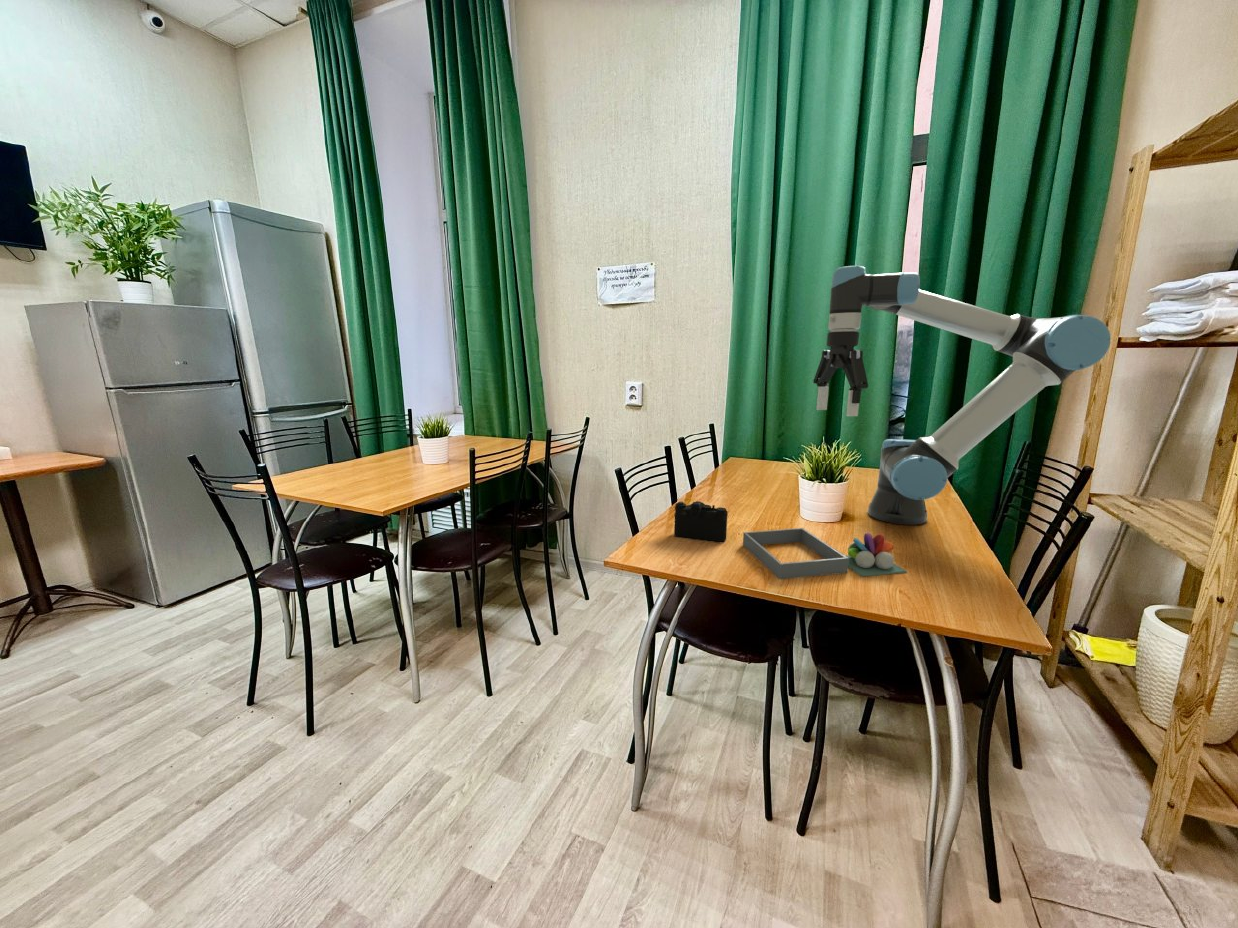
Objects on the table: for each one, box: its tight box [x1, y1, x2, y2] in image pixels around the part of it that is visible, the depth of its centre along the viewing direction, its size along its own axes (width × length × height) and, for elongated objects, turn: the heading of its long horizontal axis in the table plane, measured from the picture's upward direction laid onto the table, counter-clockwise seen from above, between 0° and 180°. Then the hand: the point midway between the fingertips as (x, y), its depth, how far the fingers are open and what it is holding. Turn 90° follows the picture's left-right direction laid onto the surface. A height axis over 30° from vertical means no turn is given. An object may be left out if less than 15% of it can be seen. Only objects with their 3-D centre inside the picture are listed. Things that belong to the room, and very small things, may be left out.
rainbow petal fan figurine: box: [847, 532, 895, 569], centre depth 111 cm, size 8×10×7 cm
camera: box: [673, 500, 729, 544], centre depth 131 cm, size 14×11×10 cm
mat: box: [845, 555, 907, 578], centre depth 112 cm, size 11×10×1 cm
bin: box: [742, 527, 849, 580], centre depth 116 cm, size 16×19×4 cm
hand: (836, 413), depth 131 cm, fingers open, 13 cm apart
